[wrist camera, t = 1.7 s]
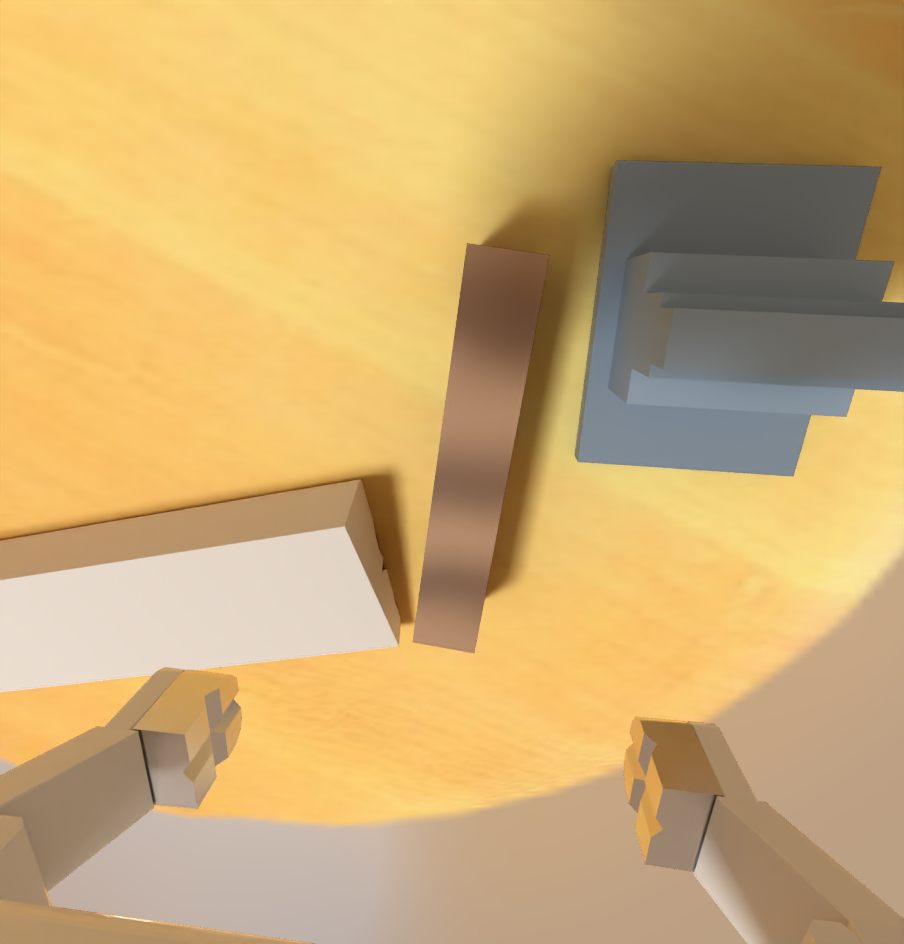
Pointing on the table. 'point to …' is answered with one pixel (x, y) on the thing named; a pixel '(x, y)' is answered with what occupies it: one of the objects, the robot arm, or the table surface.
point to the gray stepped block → (732, 314)
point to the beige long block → (196, 590)
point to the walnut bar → (477, 439)
